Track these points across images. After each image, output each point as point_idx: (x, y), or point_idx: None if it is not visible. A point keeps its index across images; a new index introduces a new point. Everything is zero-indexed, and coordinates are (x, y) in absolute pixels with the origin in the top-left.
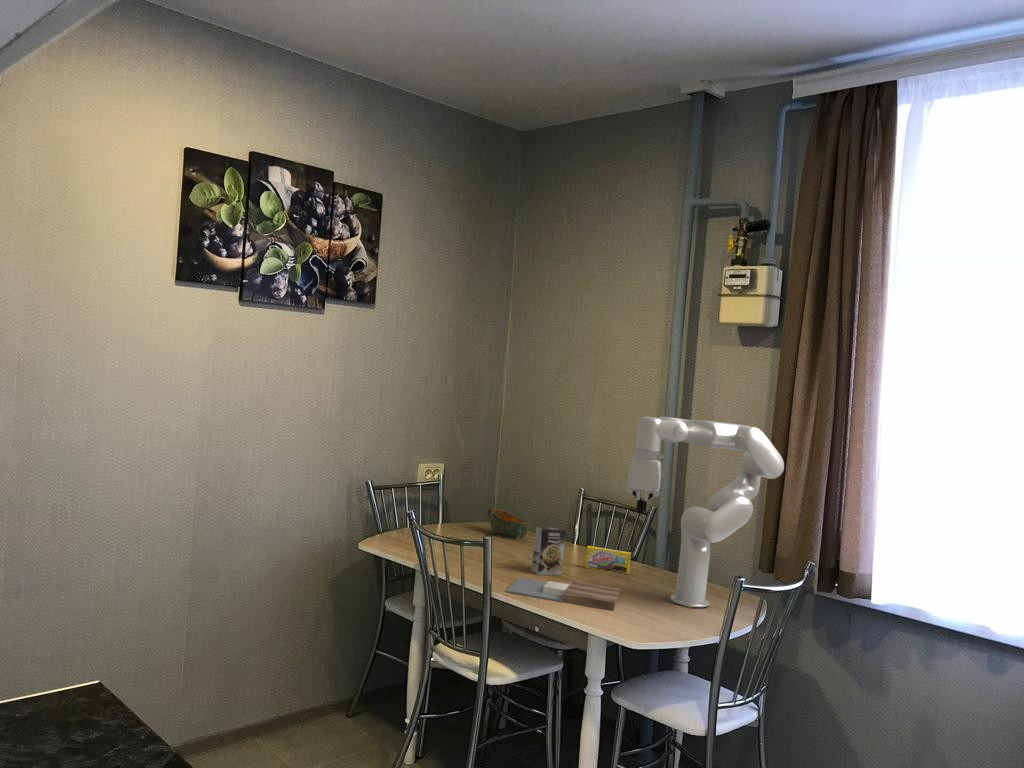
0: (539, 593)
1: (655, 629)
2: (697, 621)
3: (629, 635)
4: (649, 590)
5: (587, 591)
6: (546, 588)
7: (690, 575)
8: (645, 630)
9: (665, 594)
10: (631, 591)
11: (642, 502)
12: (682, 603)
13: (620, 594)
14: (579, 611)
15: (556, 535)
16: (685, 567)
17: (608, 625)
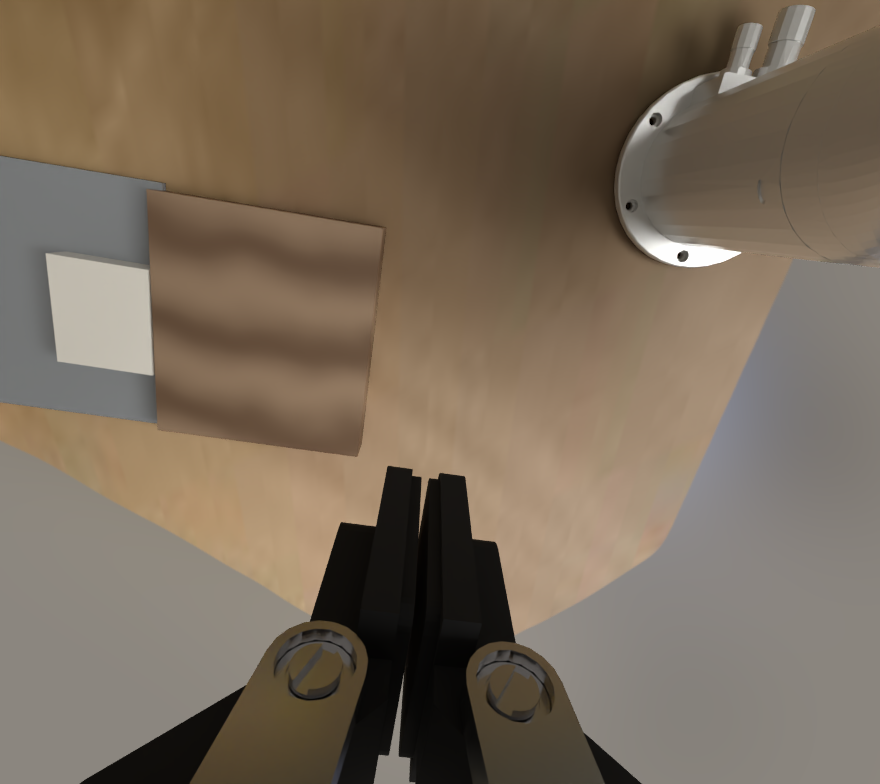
0: (68, 372)
1: None
2: (654, 434)
3: None
4: (540, 7)
5: (241, 350)
6: (75, 361)
7: (754, 252)
8: None
9: (614, 55)
10: (441, 89)
11: (411, 741)
12: (652, 256)
13: (384, 231)
14: (251, 499)
15: None
16: (751, 235)
17: None
